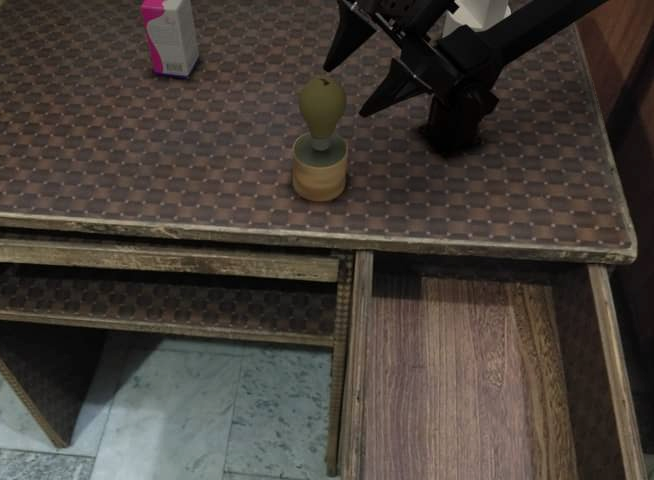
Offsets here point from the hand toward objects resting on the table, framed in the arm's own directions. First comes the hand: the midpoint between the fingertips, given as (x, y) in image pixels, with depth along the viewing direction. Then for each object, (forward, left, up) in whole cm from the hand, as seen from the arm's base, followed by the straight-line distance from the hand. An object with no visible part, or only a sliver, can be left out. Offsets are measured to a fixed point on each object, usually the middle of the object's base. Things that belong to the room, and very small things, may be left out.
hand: (342, 92), depth 74 cm
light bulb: (0, +3, -8) cm, 8 cm away
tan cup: (0, +3, -13) cm, 14 cm away
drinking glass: (+15, -32, -13) cm, 37 cm away
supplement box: (+33, +11, -14) cm, 38 cm away
